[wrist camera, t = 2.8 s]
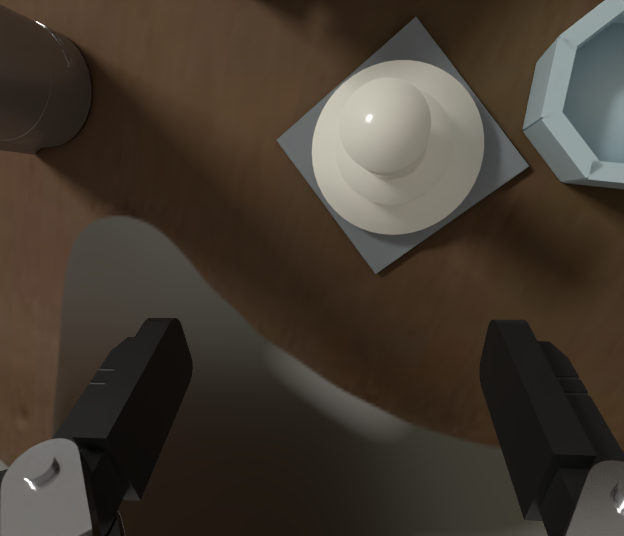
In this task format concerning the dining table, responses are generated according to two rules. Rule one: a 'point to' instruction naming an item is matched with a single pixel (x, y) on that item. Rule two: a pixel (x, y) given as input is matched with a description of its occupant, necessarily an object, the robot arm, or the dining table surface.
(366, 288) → the dining table surface
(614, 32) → the bowl
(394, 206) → the lid
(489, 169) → the mat
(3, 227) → the dining table surface
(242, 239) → the dining table surface
